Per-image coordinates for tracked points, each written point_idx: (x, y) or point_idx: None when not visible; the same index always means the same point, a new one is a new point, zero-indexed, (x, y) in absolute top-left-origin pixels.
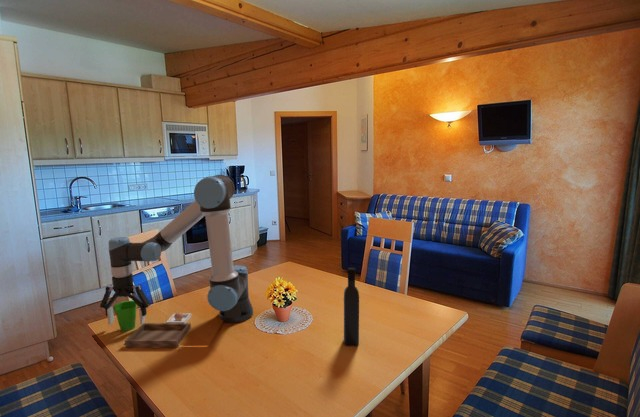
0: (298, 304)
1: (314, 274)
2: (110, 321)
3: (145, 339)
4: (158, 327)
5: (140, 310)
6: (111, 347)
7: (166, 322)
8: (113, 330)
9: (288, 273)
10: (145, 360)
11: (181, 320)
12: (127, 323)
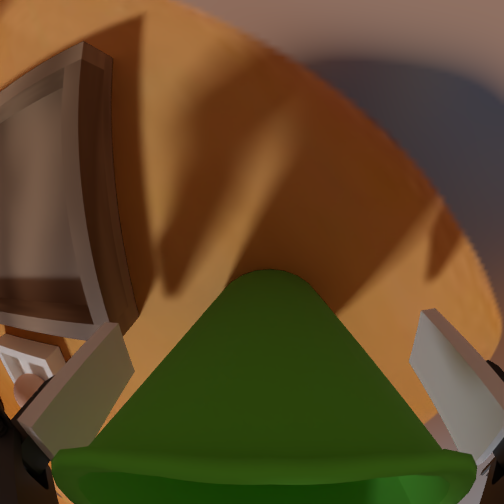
0: None
1: None
2: (431, 328)
3: (30, 160)
4: (39, 306)
5: (25, 414)
6: (219, 35)
7: (45, 357)
8: (381, 293)
9: (61, 500)
10: (5, 36)
11: None
12: (212, 307)
